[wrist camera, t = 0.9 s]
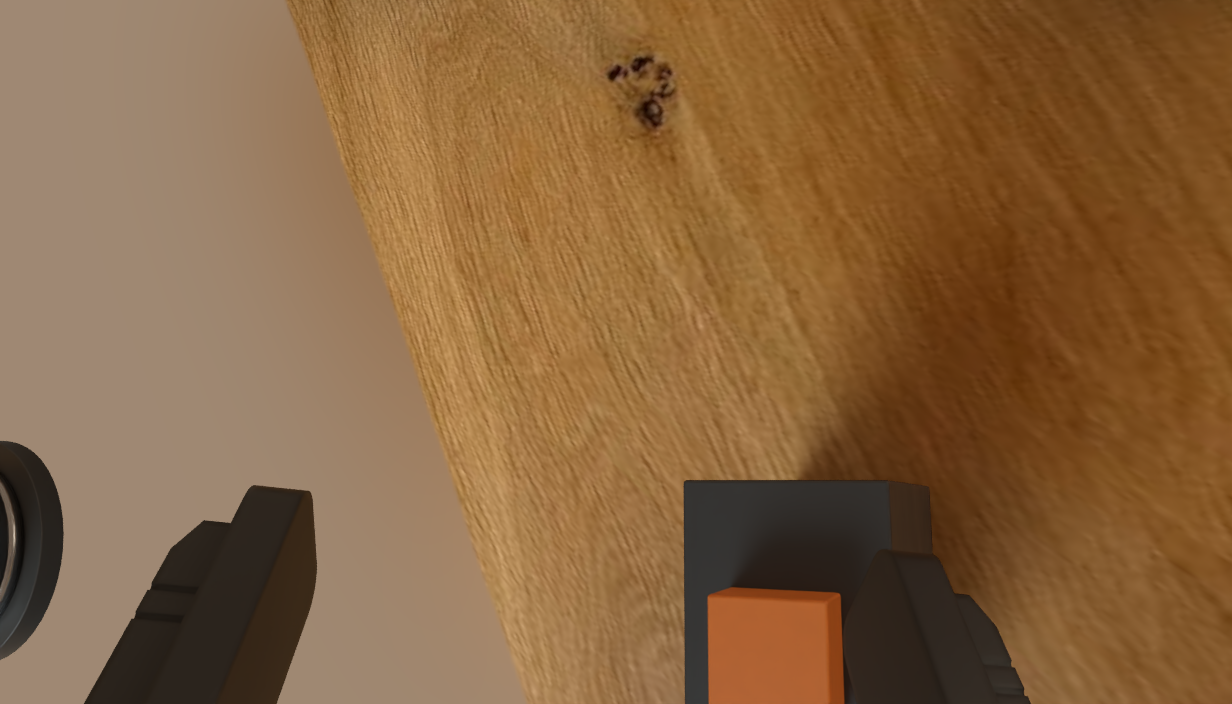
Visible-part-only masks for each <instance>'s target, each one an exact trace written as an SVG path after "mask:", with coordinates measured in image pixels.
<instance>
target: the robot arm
mask: <svg viewBox="0 0 1232 704" xmlns="http://www.w3.org/2000/svg"><path fill="white" fill-rule="evenodd" d="M23 550H24V526H23V517H22V512H21V507H20V504H19V501H18V498H17V495H16V493H15V490H14V489H13V487H12V485H11V483H10V482H9V481H8V479H7V478H6V477H5V476H4V475H3V474H2V473H1V472H0V616H1V615H2V613H3V612H4V610H5V609H6V607H7V605H8V603H9V601H10V599H11V597H12V595H13V592H14V590H15V587H16V584H17V581H18V577H19V574H20V569H21V565H22V559H23ZM316 574H317V560H316V544H315V529H314V515H313V500H312V495H311V493H310V491H304V490H295V489H284V488H275V487H266V486H256V485H253V486H251V487H250V488H249V489H248V491H247V493H246V494H245V496H244V498H243V500H242V502H241V504H240V506H239V508H238V510H237V512H236V514H235V516H234V518H233V520H232V522H231V523H225V522H214V521H205V520H204V521H203V522H201V524H199V525H198V526H197V527H196V528H194V529H193V530H192V531H191V532H190V533H189V534H187V535H186V536H185V537H184V538H183V539H182V540H181V541H179V542H178V543H177V544H176V545H174V546H173V547H172V548H171V549H170V551H169V553H168V555H167V556H166V558H165V560H164V562H163V564H162V565H161V567H160V569H159V571H158V572H157V574H156V576H155V578H154V580H153V581H152V586H151V589H150V590H147V592H146V594H145V596H144V597H143V599H142V601H141V603H140V605H139V606H138V608H137V610H136V615H135V618H134V619H131V621H130V623H129V624H128V626H127V628H126V630H125V631H124V633H123V635H122V637H121V638H120V640H119V642H118V644H117V646H116V647H115V649H114V651H113V653H112V655H111V656H110V658H109V660H108V662H107V663H106V666H105V667H104V669H103V671H102V673H101V674H100V676H99V678H98V680H97V681H96V683H95V685H94V687H93V688H92V690H91V692H90V694H89V696H88V697H87V699H86V701H85V703H84V704H277V701H278V698H279V695H280V692H281V690H282V686H283V684H284V681H285V678H286V675H287V672H288V669H289V667H290V664H291V661H292V658H293V656H294V653H295V650H296V647H297V645H298V642H299V639H300V636H301V633H302V630H303V628H304V625H305V622H306V619H307V616H308V613H309V610H310V607H311V603H312V599H313V594H314V590H315V583H316ZM843 649H844V657H845V661H846V665H847V669H848V673H849V676H850V680H851V684H852V688H853V692H854V695H855V699H856V703H857V704H1031V703H1030V701H1029V698H1028V696H1024V687H1023V685H1022V683H1021V681H1020V678H1019V676H1018V674H1017V672H1016V669H1015V668H1013V667H1012V666H1011V661H1012V660H1011V658H1010V656H1009V654H1008V652H1007V649H1006V647H1005V645H1004V643H1003V640H1002V638H1001V636H1000V634H999V631H998V629H997V627H996V626H995V624H994V623H993V622H992V621H991V620H990V619H989V618H988V616H987V615H986V614H985V613H984V612H983V611H982V609H981V608H980V607H979V606H978V605H977V604H976V603H975V601H974V600H973V599H972V598H971V597H970V596H969V595H964V594H954V592H953V590H952V588H951V585H950V583H949V580H948V578H947V576H946V573H945V571H944V568H943V566H942V564H941V562H940V560H939V559H938V558H937V557H936V556H935V555H933V554H926V553H917V552H907V551H898V550H888V549H881V550H879V551H878V552H877V553H876V554H875V556H874V558H873V560H872V562H871V564H870V566H869V569H868V571H867V573H866V575H865V577H864V579H863V581H862V584H861V586H860V588H859V590H858V592H857V594H856V596H855V599H854V601H853V603H852V605H851V607H850V609H849V611H848V614H847V616H846V620H845V624H844V631H843Z"/></svg>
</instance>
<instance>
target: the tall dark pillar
mask: <svg viewBox="0 0 1232 704" xmlns="http://www.w3.org/2000/svg"><path fill="white" fill-rule="evenodd" d="M881 549H888V550H898V551H907V552H917V553H926V554H933V552H932V533H931V514H930V495H929V487H927V486H922V485H915V484H908V483H901V482H894V481H888V480H686V481H684V612H685V704H857V703H856V699H855V695H854V692H853V688H852V684H851V680H850V676H849V673H848V669H847V665H846V661H845V657H844V649H843V631H844V624H845V620H846V616H847V614H848V611H849V609H850V607H851V605H852V603H853V601H854V599H855V596H856V594H857V592H858V590H859V588H860V586H861V584H862V581H863V579H864V577H865V575H866V573H867V571H868V569H869V566H870V564H871V562H872V560H873V558H874V556H875V554H876V553H877V552H878V551H879V550H881Z"/></svg>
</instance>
